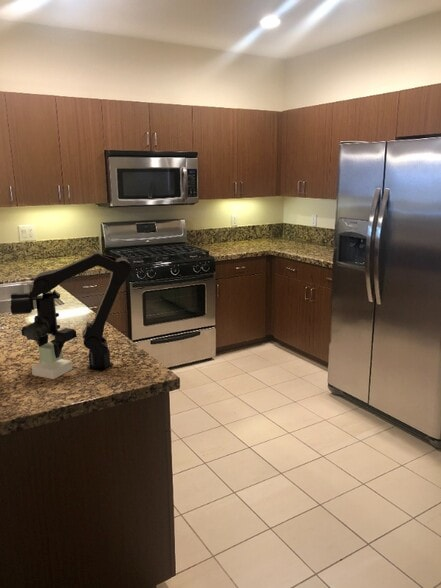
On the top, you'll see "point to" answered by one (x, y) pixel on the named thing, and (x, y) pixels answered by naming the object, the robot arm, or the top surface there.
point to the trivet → (52, 368)
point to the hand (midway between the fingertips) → (51, 356)
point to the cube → (48, 353)
